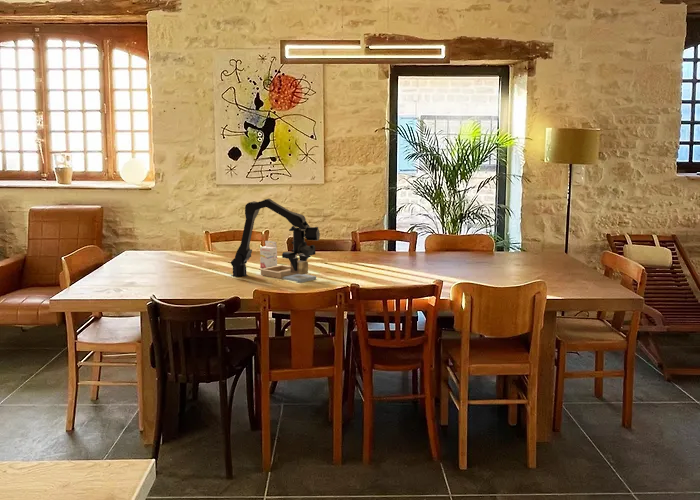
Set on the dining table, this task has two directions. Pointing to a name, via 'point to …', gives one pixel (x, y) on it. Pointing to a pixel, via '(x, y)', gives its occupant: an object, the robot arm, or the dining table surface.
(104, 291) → the dining table surface
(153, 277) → the dining table surface
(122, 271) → the dining table surface
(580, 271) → the dining table surface
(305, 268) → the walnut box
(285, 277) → the trivet
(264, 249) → the ink cartridge box
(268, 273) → the beige shallow square tray
